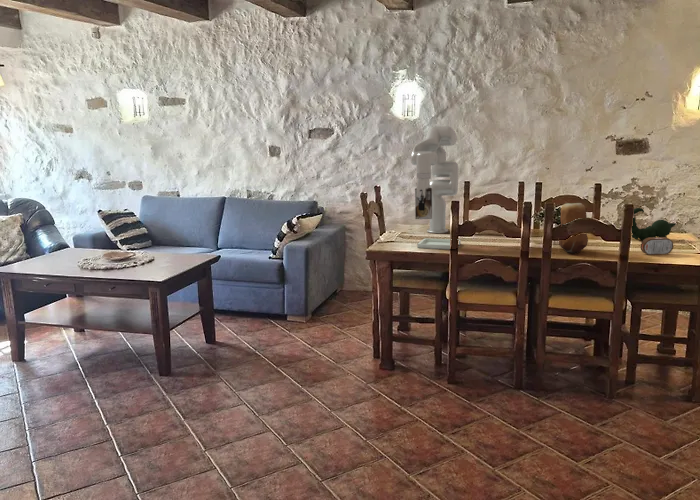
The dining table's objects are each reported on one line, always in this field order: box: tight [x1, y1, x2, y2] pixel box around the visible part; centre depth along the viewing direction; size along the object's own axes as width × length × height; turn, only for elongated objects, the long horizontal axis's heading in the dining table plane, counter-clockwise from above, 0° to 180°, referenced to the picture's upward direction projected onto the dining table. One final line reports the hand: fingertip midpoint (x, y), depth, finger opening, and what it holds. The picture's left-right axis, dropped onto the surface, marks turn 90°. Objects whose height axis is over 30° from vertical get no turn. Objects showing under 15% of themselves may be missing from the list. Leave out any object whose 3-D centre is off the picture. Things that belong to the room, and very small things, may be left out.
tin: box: [640, 237, 674, 256], centre depth 275 cm, size 15×3×8 cm, turn 92°
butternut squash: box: [558, 202, 589, 254], centre depth 281 cm, size 14×13×25 cm
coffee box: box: [414, 187, 432, 220], centre depth 306 cm, size 9×6×16 cm
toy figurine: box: [631, 207, 677, 241], centre depth 306 cm, size 9×19×25 cm
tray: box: [416, 237, 461, 251], centre depth 307 cm, size 16×20×2 cm
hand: (423, 208), depth 306 cm, fingers closed on coffee box, 7 cm apart
